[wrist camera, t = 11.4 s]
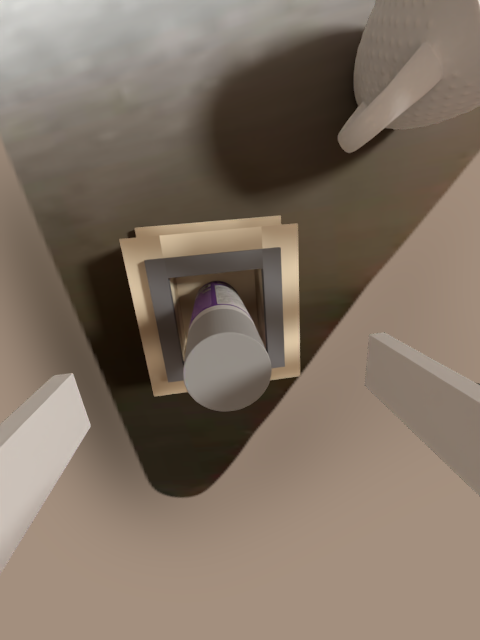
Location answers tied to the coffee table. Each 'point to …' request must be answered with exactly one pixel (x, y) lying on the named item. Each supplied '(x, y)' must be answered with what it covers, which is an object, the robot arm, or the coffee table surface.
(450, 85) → the mug
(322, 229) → the coffee table surface
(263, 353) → the container
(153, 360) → the socket
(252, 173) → the coffee table surface
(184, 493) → the coffee table surface
